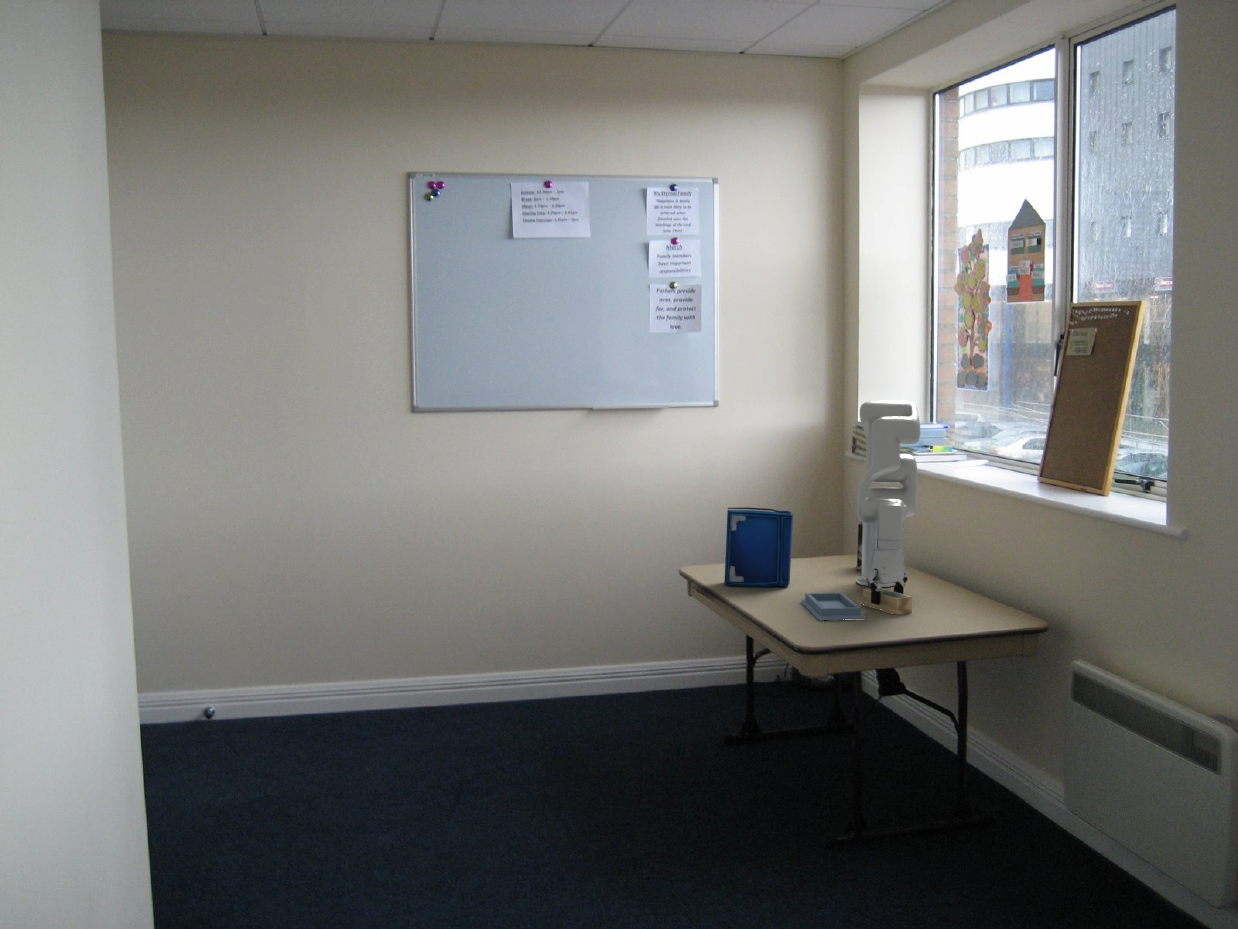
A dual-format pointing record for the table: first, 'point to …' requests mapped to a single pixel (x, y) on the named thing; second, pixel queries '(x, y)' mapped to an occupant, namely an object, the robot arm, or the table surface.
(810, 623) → the table surface
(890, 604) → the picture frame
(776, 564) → the book
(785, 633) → the table surface
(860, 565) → the coffee box
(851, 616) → the blue tray
